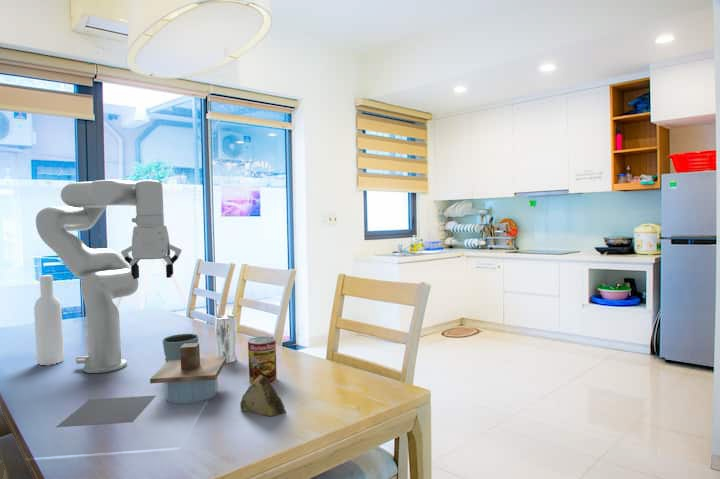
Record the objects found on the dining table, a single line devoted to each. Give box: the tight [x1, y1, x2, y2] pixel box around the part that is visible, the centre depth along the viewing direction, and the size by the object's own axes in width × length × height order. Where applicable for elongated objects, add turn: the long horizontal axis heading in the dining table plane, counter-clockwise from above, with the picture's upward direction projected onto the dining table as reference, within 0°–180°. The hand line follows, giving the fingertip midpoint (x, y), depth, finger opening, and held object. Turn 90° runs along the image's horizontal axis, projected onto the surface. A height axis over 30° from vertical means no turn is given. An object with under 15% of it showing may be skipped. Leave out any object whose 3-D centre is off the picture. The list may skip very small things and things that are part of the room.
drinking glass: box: [162, 333, 199, 364], centre depth 145 cm, size 10×10×12 cm
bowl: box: [164, 377, 219, 404], centre depth 129 cm, size 13×13×6 cm
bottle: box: [33, 274, 65, 366], centre depth 163 cm, size 8×8×30 cm
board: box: [55, 395, 156, 428], centre depth 119 cm, size 17×17×1 cm
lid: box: [149, 342, 226, 384], centre depth 129 cm, size 16×16×7 cm
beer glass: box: [214, 314, 238, 365], centre depth 160 cm, size 7×7×15 cm
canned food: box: [247, 336, 278, 385], centre depth 140 cm, size 8×8×12 cm
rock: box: [240, 375, 287, 417], centre depth 117 cm, size 11×9×10 cm
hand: (152, 277), depth 145 cm, fingers open, 9 cm apart
